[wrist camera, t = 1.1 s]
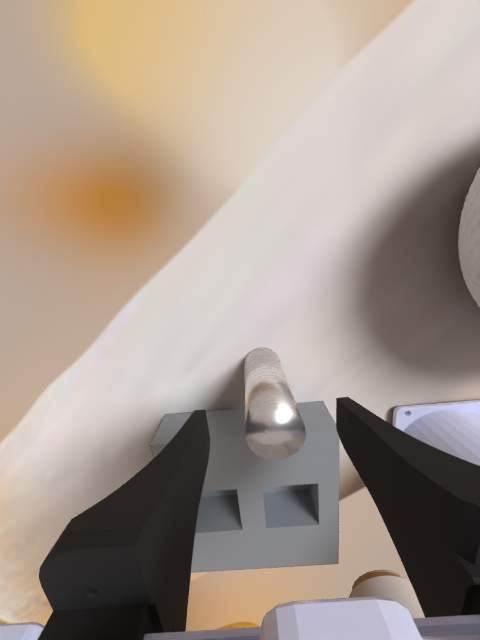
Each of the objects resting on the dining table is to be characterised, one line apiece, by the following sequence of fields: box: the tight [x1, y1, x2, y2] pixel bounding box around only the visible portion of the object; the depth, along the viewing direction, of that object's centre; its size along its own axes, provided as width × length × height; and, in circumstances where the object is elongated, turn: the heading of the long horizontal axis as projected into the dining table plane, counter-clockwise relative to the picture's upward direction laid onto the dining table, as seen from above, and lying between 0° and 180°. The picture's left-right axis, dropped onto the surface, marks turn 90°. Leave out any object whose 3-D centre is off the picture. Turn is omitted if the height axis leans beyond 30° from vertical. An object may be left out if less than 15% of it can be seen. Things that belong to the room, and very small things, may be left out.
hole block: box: [150, 401, 339, 573], centre depth 20 cm, size 14×14×4 cm
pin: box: [244, 348, 306, 460], centre depth 15 cm, size 3×3×8 cm
